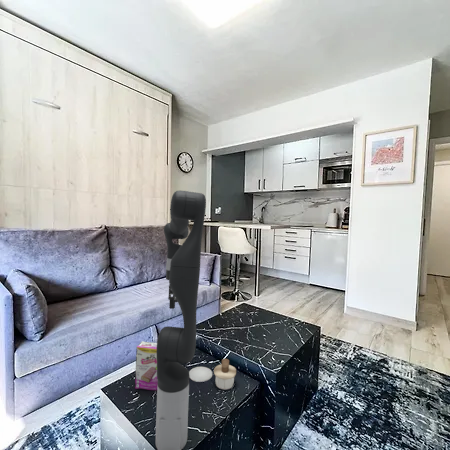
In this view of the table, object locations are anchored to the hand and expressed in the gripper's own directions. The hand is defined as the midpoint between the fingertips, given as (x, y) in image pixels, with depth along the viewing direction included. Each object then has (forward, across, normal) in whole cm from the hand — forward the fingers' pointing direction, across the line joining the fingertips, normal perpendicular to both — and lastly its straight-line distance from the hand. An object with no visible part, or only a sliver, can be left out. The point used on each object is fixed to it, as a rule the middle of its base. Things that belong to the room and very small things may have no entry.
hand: (173, 305), depth 109 cm
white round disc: (+28, -4, -13) cm, 31 cm away
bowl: (+28, -10, -23) cm, 38 cm away
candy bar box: (+28, -12, +6) cm, 31 cm away
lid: (+23, -10, -23) cm, 34 cm away
